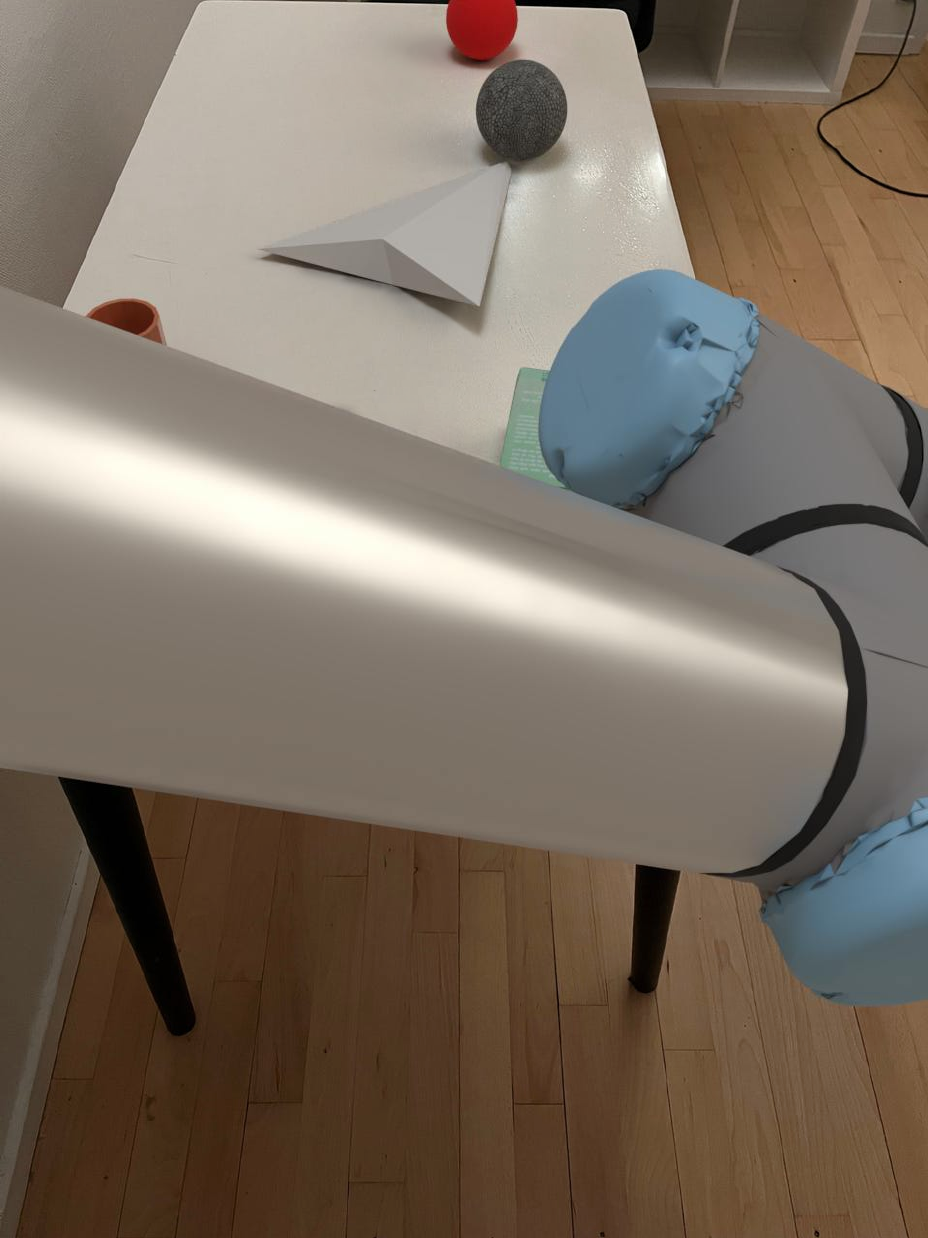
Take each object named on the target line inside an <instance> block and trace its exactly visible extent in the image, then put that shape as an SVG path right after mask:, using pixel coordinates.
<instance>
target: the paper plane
mask: <svg viewBox="0 0 928 1238" xmlns="http://www.w3.org/2000/svg"><path fill="white" fill-rule="evenodd" d="M512 172H513V171H512V168H511V166H510V164H509V163H508V161H507V160H504V161H502V162H499V163H496V164H494V165H490V166H487V167H485V168H482V169H479V170H476V171H474V172H470V173H468V174H465V175H462V176H460V177H457V178H454V179H451V180H448V181H445V182H442V183H440V184H437V185H434V186H432V187H431V186H430V187H429V188H425V189H423V190H420V191H417V192H414V193H412V194H409V195H406V196H403V197H401V198H397V199H394V200H392V201H389V202H386V203H383V204H380V205H377V206H374V207H372V208H369V209H367V210H364V211H361V212H358V213H356V214H353V215H349V216H346V217H344V218H341V219H338V220H336V221H332V222H329V223H326V224H324V225H322V226H319V227H316V228H313V229H310V230H307V231H305V232H301V233H299V234H296V235H293V236H290V237H288V238H285V239H282V240H278V241H276V242H274V243H270V244H268V245H265V246H262V247H259V248H258V250H259V251H263V252H267V253H270V254H274V255H278V256H282V257H286V258H289V259H292V260H297V261H301V262H305V263H308V264H312V265H316V266H319V267H323V268H327V269H331V270H334V271H339V272H343V273H346V274H350V275H354V276H357V277H362V278H365V279H369V280H372V281H376V282H379V283H385V284H388V285H392V286H395V287H400V288H403V289H407V290H411V291H416V292H420V293H423V294H428V295H431V296H435V297H439V298H444V299H448V300H452V301H455V302H460V303H464V304H468V305H471V306H476V307H481V302H482V297H483V295H484V290H485V285H486V281H487V277H488V273H489V268H490V266H491V260H492V256H493V252H494V247H495V243H496V239H497V235H498V231H499V226H500V222H501V217H502V214H503V209H504V206H505V202H506V196H507V193H508V188H509V184H510V180H511V175H512Z"/></svg>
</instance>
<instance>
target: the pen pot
mask: <svg viewBox="0 0 928 1238" xmlns="http://www.w3.org/2000/svg"><path fill="white" fill-rule="evenodd" d="M84 316H85V317H88V318H91V319H94V320H96V321H99V322H102V323H105V324H107V325H110V326H113V327H116V328H118V329H121V330H124V331H127V332H130V333H132V334H135V335H138V336H141V337H143V338H146V339H149V340H152V341H155V342H157V343H160V344H163V345H166V346H168V344H167V340H166V336H165V333H164V328H163V324H162V321H161V316H160V314H159V311H158V309H157V308H156V306H154V305H153V304H151V303H150V302H148V301H146V300H142V299H139V298H116V299H112V300H108V301H105V302H103V303H101V304H99V305H97V306H95V307H94V308H92V309H91V310H90V311H89V312H88V313H87V314H86V315H84Z"/></svg>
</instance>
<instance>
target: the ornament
mask: <svg viewBox="0 0 928 1238" xmlns="http://www.w3.org/2000/svg"><path fill="white" fill-rule="evenodd" d="M445 13H446V14H445V25H446V30H447V33H448V36H449V39H450V40H451V43H452V44H453V45H454V47H455V48H456V49H457V51H458V52H460V53H461V54H463V55H464V56H466V57H467V58H470V59H473V60H477V61H486V60H490V59H493V58H497V57H498V56H500V55H501V54H502V53H503V52H505V50H506V49H507V48H509V46H511V43H512V41H513V40H514V38H515V35H516V32H517V29H518V24H519V17H518V7H517V3H516V1H515V0H449V1H448V4H447V7H446V12H445Z"/></svg>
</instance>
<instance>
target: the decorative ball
mask: <svg viewBox="0 0 928 1238" xmlns="http://www.w3.org/2000/svg"><path fill="white" fill-rule="evenodd" d="M567 99H568V98H567V95H566V92H565V89H564V87H563V85H562V83H561V81H560V79H559V78H558V76H557V75H556V74H555V72H553V71H552V70H551V69H550V68H548V67H547V66H546V65H544V64H542V63H541V62H538V61H535V60H531V59H515V60H511V61H510V60H509V61H508V62H505V63H503V64H501V65H499V66H498V67H496V68H495V69H494V70H493V71H491V72H490V74H489V75H487V77H486V78H485V80H484V82H483V84H482V85H481V87H480V89H479V92H478V95H477V98H476V103H475V120H476V124H477V128H478V130H479V133H480V135H481V138H482V139H483V140H484V143H486V145H487V146H488V147H489V148H490V149H491V150H492V151H493V152H494V153H496V154H497V155H499V156H500V157H503V158H504V159H508V160H510V161H518V162H522V161H530V160H534V159H536V158H539V157H541V156H543V155H544V154H546V153H547V152H549V151H550V150H551V149H552V148H553V147H554V146H555V145H556V143H557V142H558V141H559V139H560V138H561V135H562V134H563V132H564V129H565V127H566V123H567V118H568V100H567Z"/></svg>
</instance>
